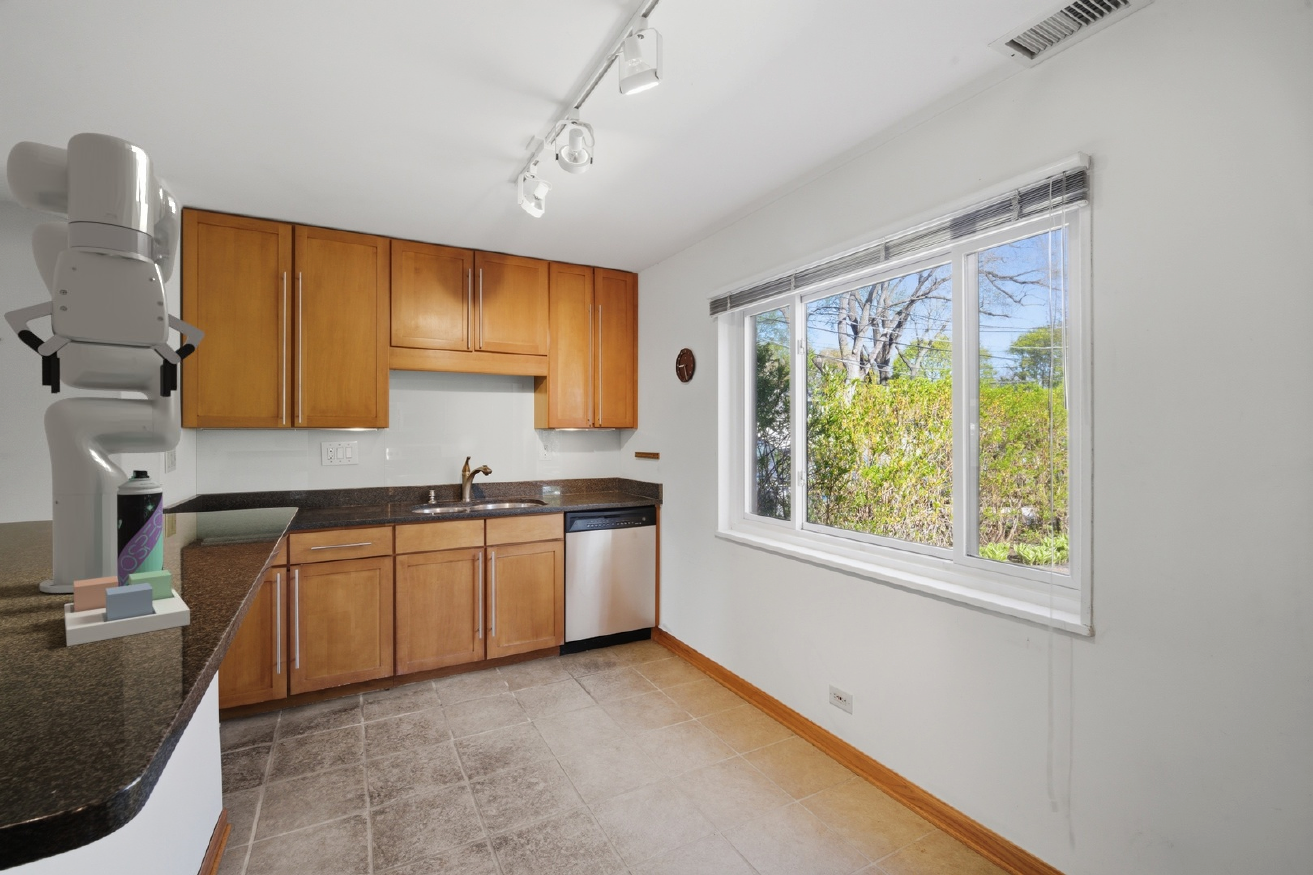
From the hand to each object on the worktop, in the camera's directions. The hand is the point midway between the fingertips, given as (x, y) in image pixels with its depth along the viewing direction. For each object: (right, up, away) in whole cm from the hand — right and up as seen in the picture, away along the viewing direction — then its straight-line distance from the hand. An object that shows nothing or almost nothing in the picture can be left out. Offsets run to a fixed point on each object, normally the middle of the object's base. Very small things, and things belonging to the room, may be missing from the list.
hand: (113, 394), depth 71 cm
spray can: (-18, -30, +24) cm, 43 cm away
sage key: (-10, -28, +17) cm, 35 cm away
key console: (-9, -30, +12) cm, 34 cm away
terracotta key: (-14, -28, +13) cm, 34 cm away
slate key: (-6, -29, +10) cm, 31 cm away
